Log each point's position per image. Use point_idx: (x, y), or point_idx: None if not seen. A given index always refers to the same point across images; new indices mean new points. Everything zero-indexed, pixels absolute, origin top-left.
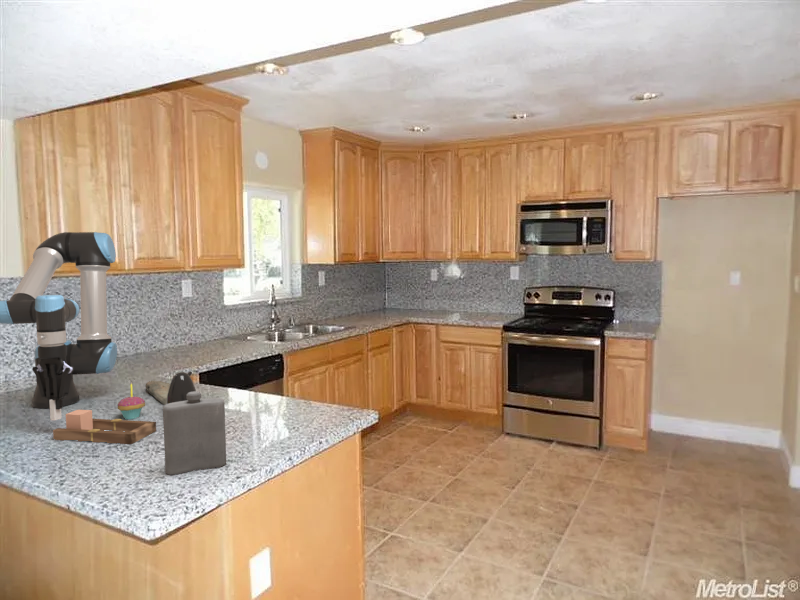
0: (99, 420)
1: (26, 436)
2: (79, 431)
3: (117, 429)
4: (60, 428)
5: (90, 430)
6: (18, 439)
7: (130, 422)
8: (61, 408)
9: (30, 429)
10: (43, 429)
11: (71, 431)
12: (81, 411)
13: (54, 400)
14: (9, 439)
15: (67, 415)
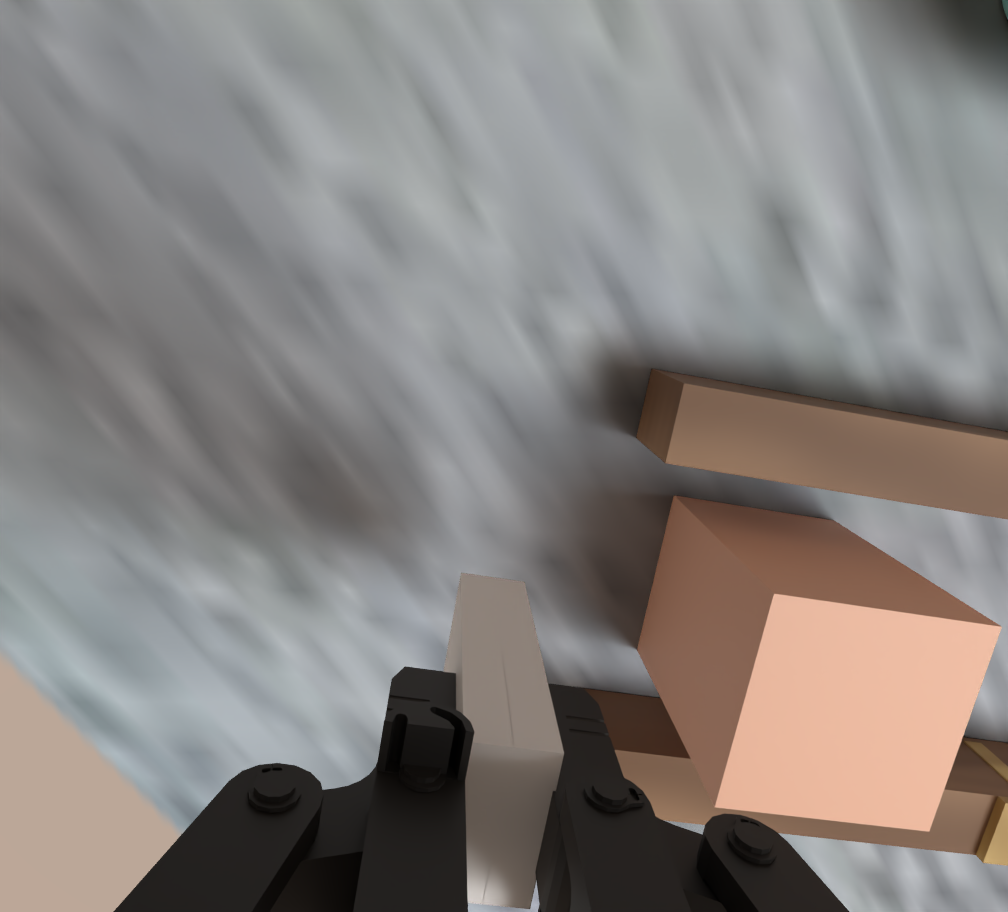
0: (944, 486)
1: (221, 653)
2: (882, 839)
3: None
4: (632, 758)
5: (1001, 846)
6: (207, 733)
7: None
8: (579, 697)
9: (79, 433)
10: (238, 436)
11: (797, 834)
12: (877, 687)
13: (532, 881)
14: (113, 734)
15: (737, 799)
